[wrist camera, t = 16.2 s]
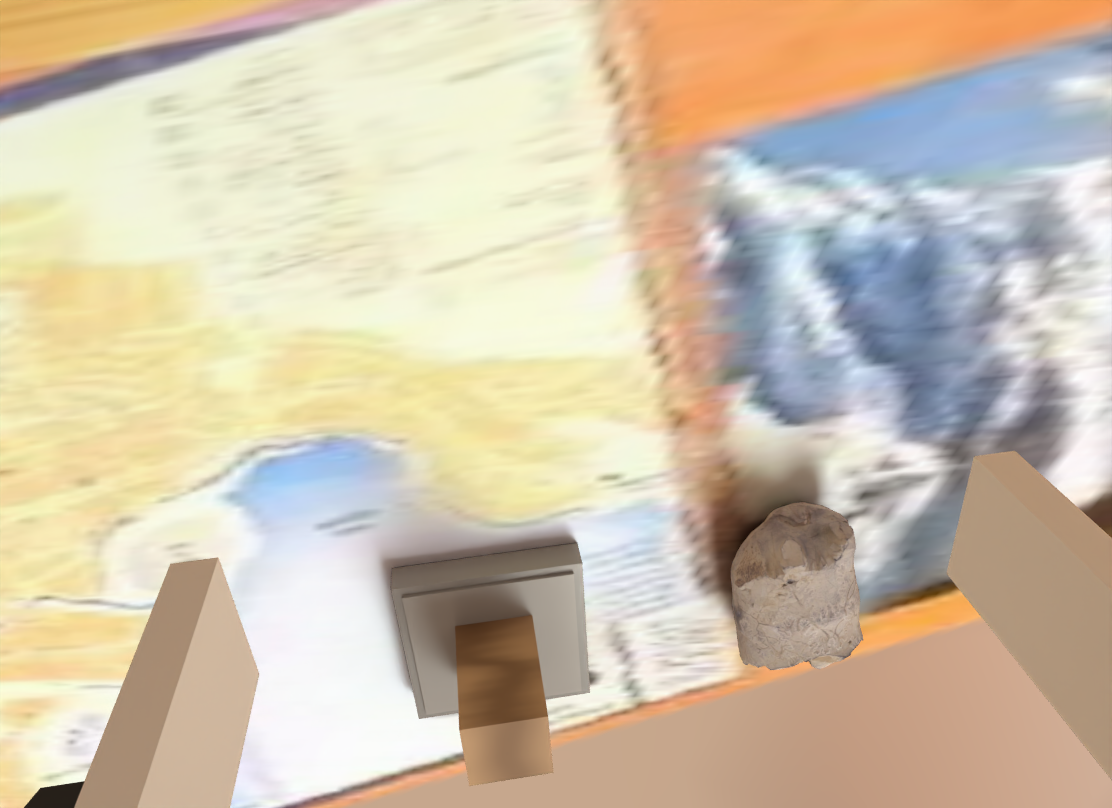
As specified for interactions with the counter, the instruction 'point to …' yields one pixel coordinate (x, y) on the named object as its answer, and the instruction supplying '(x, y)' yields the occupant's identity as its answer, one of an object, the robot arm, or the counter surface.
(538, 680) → the block
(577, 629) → the board
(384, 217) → the counter surface
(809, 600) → the stone
